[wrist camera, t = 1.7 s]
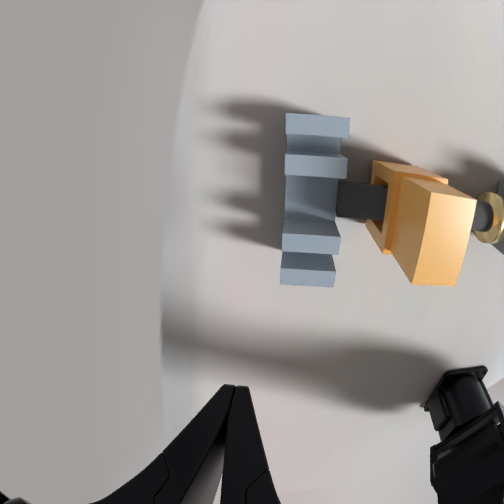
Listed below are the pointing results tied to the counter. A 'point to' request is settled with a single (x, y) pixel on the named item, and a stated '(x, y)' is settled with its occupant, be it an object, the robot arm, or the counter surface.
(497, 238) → the band
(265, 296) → the counter surface
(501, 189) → the connector
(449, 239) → the sleeve
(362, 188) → the black rod
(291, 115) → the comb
